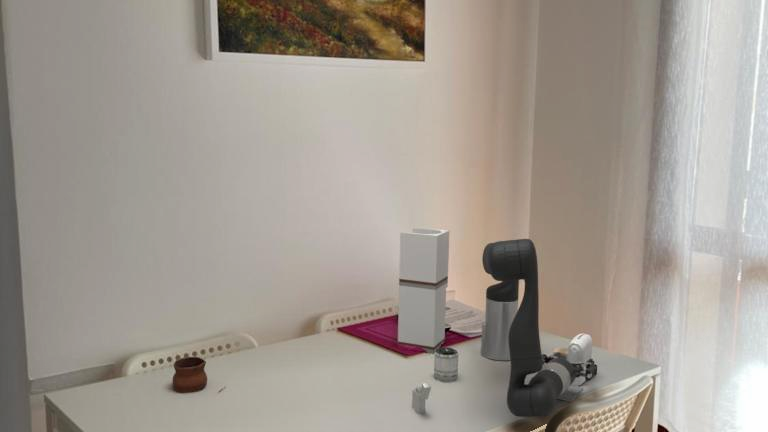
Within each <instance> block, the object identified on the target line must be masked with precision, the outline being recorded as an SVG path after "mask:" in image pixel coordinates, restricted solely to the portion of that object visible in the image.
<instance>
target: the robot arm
mask: <svg viewBox="0 0 768 432" xmlns="http://www.w3.org/2000/svg"><path fill="white" fill-rule="evenodd" d="M482 267H483V270H484V271H485V273H487V274H488V275H490V276H491V277H492V278H493V280H494V281H496V282H497V281H498V283H495V284H491V285H490V286H488V287H487V288H486V291H485V316H484V318H485V319H484V322H483V323H482V326H481V343H480V344H481V346H480V347H481V348H480V349H481V350H480V356H483V357H486V358H488V359H490V360H495V361H509V362H510V374H509V382H508V387H507V395H506V405H507V408H508V410H509V411H510V413H511V414H512V415H513V416H514V417H523V418H525V417H528V418H531V417H533V418H534V417H537V418H541V417H547V416H550V415H552V413H554V412H555V409H556V401H557V399H556V398H557V397H558V396H559V395H561V394H562V393H564V392H565V391H566V390H567V389H568V388H569V386H570V385H571V384H572V383H573V382H574V380H575V378H578V377H580V376H583V377H585V380H586V381H585V382H587V381H588V382H591V380H592V379H594V378H595V377H596V376H597V375H598V365H597V364H595V360H594V359H593V358H590V359H589V360H588V361H587V362H585V363H583V362H581V361H578V362H569V361H567V360H565V359H563V358H560V354H561V353H560V352H557V353H555V354H553V353H552V354H550V355H549V356H548V355H547V354H545V353H544V354H542V348H541V347H542V346H541V339H540V328H539V327H540V326H539V323H540V321H539V319H540V318H539V305H540V304H539V303H540V302H539V298H540V296H539V294H540V293H539V268H538V267H539V266H538V256H537V249H536V247H535V244H534V242H533V241H532V239H530V238H518V239H510V240H499V241H495V242H489V243H488V244H486V245H485V247H484V249H483V252H482ZM520 280H521V281H522V280H523V281H524V290H523V291H524V293H523V296H522V300H521V303H520V305H519V289H520V288H519V287H520V286H519V285H520ZM577 365H579V367H578V366H577ZM584 366H586V370H584ZM532 374H535V375H534V376H533V377H531V378H530V380H529V382H528V383H527V384H525V381H526V378H527V376H528V375H532Z"/></svg>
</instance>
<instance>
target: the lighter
mask: <svg viewBox="0 0 768 432" xmlns="http://www.w3.org/2000/svg"><path fill="white" fill-rule="evenodd" d="M431 389H432V386H431V384H430V382H425V383H422V384H421V387H420V386H416V387H415V388H414V389H412V399H411V407H412V408H413V409H414V410H415V411H416V412H417V413H418V414H425V413H426V401H427V400H428V399H429V396H430V393H431Z"/></svg>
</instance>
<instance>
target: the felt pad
mask: <svg viewBox="0 0 768 432" xmlns="http://www.w3.org/2000/svg"><path fill="white" fill-rule="evenodd" d="M583 390H584V387H582V386H573V385H570V386H569V388H568V389H567V390H566V391H565V392H564V393H562V394H561V395H559V396H558V397H557V398H556V400H561V401H566V402H570V403H572V402H573V401H574V400H575V399H576V398H577V397H578V395H580V393H582V391H583Z"/></svg>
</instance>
